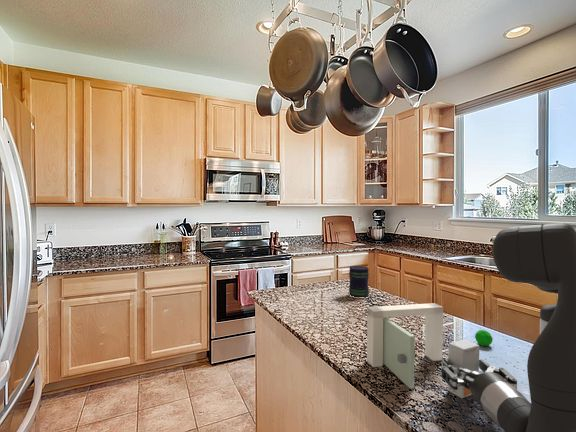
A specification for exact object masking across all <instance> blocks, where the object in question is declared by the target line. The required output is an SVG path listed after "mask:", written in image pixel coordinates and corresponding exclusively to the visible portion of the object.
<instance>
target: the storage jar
mask: <svg viewBox="0 0 576 432" xmlns="http://www.w3.org/2000/svg"><path fill="white" fill-rule="evenodd" d="M369 268H370V267H368V266H363V265H352V266H349V272H348V275H349V276H348V277H349V287H348V293H349V294H350V295H351V296H354V297H368V298H369V292H370V291H369V278H370V277H369V276H370V272H369V270H370V269H369Z"/></svg>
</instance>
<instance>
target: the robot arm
mask: <svg viewBox="0 0 576 432" xmlns="http://www.w3.org/2000/svg"><path fill="white" fill-rule="evenodd" d="M491 252H492V258H493V262H494V265H495V267H496V268H497V271H498V272H499V273H500V275H501V276H502V277H503V278H504V279H505V280H507V281H509V282H513V283H518V284H519V283H520V284H521V283H522V284H529V285H532V286H534V287H536V288H537V289H539V291H543V292H546V293H550V294H552V293H553V294H556V295H557V300H556V303H552V304H546V305H543V306H542V307H540V310H539V335H538V336H537V338H536V340H535V341H534V343H533V344H532V346H531V349H530V351H529V354H528V358H527V363H526V364H527V366H526V367H527V368H526V369H527V378H528V379H527V381H528V387H529V397H530V401H529V400H528V399H527V397H526V396H525V395H524V394H523V393H521V391H519V390H518V379H517V378H515V377H514V376H513V375H512V374H511V373H510V372H509V371H508V370H507V369H506V368H504V367H498V368H496V367H495V366H493V365H491V364H490V363H488V362H487V361H485V360H484V359H479V371H470V370H468V369H466V368H463V367H459V368H458V367H455V366H453V364H452V363H451V362H450V361H449V360H448V358H443V359H442V365H441V366H440V367H441V378H442V379H443V381H444V382H446V384H447V386H448V385H449V386H450V387H451V388H452V389H454V390H457V389H458V386H464V387H465V388H466V389H468V390H470V391H471V393H472V395H471V396H472V398H473V399H474V401H475V402H476V403H477V404H478V405H479V406H480V407H481V408H482V409H483V411H484V412H485V413H486V414H487V415H488V416H489V417H490V419H492V421H493V422H494V423H495V424H497V425H498V426H499V427H500V428H501V429H502V430H503V432H576V229H575V228H574V227H573V226H572V225H571V224H568V223H564V222H563V223H561V222H559V223H544V224H534V225H533V224H532V225H529V224H528V225H520V226H519V225H517V226H510V227H506V228H503V229H502V230H500V231H499V232H498V233H497V234H496V235H495V237H494V239H493V243H492V251H491ZM454 371H456V372H457V375H455V374H454ZM463 372H464V373H466V374H465V376H464V378H463Z"/></svg>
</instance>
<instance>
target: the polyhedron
mask: <svg viewBox="0 0 576 432" xmlns="http://www.w3.org/2000/svg"><path fill="white" fill-rule="evenodd" d="M474 338H475V341H476V342H477V343H476V344H478V345H479V346H482V347H488V346H491V344H492V343H493V339H494V338H493V336H492V334H491V333H490V332H489V331H487V330H485V329H481V330H477V331H476V332H475V335H474Z"/></svg>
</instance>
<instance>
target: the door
mask: <svg viewBox="0 0 576 432" xmlns="http://www.w3.org/2000/svg"><path fill="white" fill-rule="evenodd" d="M415 338H416V337H415V335H413V333H411V332H409V331H408V330H406V329H405V328H403V327H401V326H400V325H398V324H397V323H396V322H394V321H392V320H391V319H389V317H387V318H383V365H384V366H385V367H386V368H387V369H389V370H390V371H391V373H393V374H394V375H395V376H396V377H397V378H398V379H399V380H400V381H401V382H402V383H403V384H404V385H406V387H407V388H408V389H414V388H415V350H416V349H415V346H416V345H415V343H416V342H415V341H416V340H415Z"/></svg>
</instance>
